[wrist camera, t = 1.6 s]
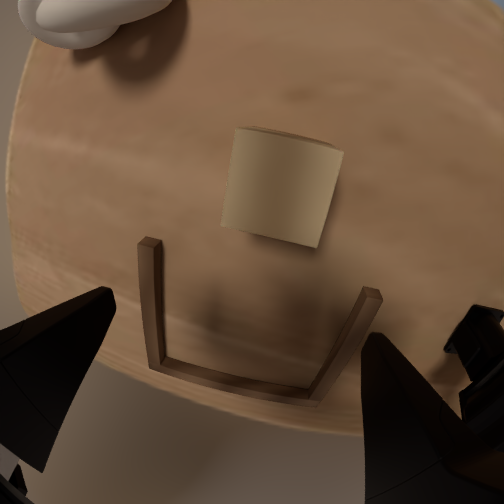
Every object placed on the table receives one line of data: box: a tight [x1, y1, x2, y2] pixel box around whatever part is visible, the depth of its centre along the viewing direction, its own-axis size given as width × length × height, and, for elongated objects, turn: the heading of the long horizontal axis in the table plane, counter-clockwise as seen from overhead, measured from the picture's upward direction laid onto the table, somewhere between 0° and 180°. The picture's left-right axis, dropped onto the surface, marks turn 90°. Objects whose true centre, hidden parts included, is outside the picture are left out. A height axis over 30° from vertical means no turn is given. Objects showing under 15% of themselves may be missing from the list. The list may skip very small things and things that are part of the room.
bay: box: [137, 237, 383, 407], centre depth 24 cm, size 20×16×2 cm
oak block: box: [221, 126, 344, 248], centre depth 15 cm, size 5×5×6 cm
